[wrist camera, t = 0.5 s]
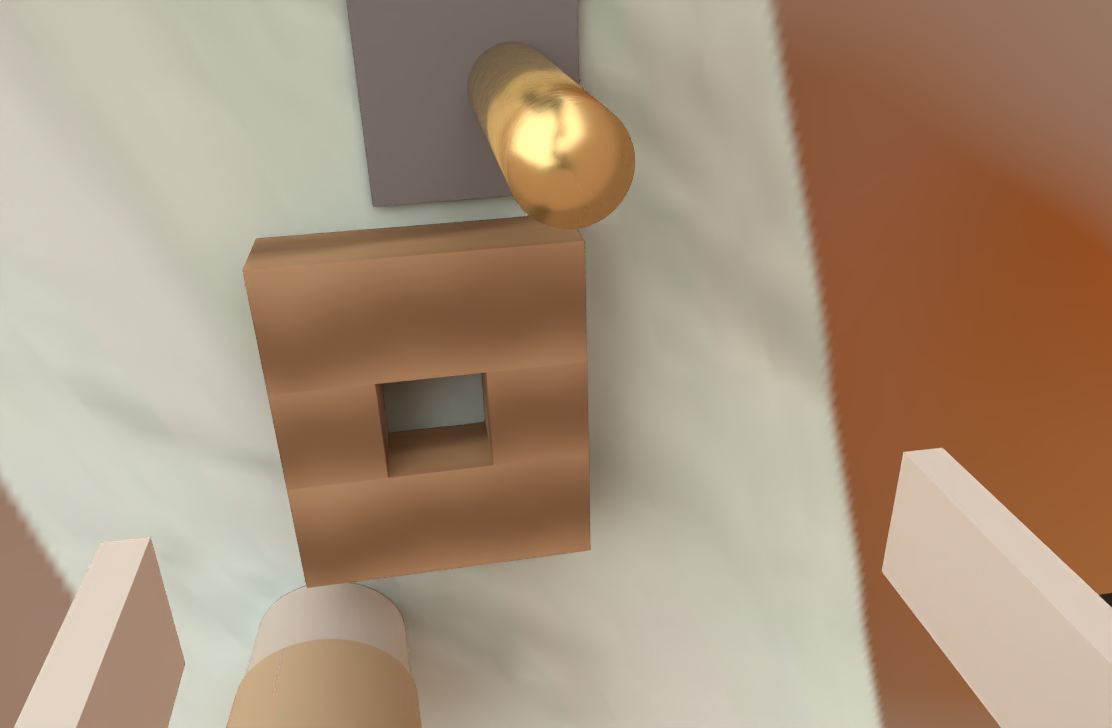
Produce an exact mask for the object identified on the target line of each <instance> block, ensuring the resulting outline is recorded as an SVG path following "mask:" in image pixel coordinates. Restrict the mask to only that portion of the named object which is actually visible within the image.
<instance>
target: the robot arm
mask: <svg viewBox="0 0 1112 728" xmlns="http://www.w3.org/2000/svg"><path fill="white" fill-rule="evenodd" d="M882 572H883V574H884V575H885V576H886V578H887V579H888V580H889V581H890V583H891V584H892V585H893V587H894V588H895V589H896V591H897V592H898V593H899V595H900V596H901V597H902V598H903V600H904V601H905V602H906V604H907V605H908V606H909V608H910V609H911V610H912V611H913V613H914V614H915V616H916V617H917V618H918V619H919V621H920V622H921V623H922V625H923V626H924V627H925V628H926V630H927V631H928V633H929V634H930V635H931V636H932V638H933V639H934V640H935V642H936V643H937V644H938V646H939V647H940V648H941V649H942V651H943V652H944V653H945V655H946V656H947V657H948V659H949V660H950V661H951V662H952V664H953V665H954V667H955V668H956V669H957V670H958V672H959V673H960V674H961V676H962V677H963V678H964V680H965V681H966V682H967V684H968V685H969V686H970V688H971V689H972V690H973V691H974V693H975V694H976V695H977V697H978V698H979V699H980V701H981V702H982V703H983V705H984V706H985V707H986V708H987V710H988V711H989V712H990V714H991V715H992V716H993V717H994V719H995V720H996V722H997V723H998V724H999V726H1000V727H1001V728H1112V593H1109V594H1102V595H1098V594H1097V593H1095V591H1093V590H1092V589H1091V588H1090V587H1089V586H1088V585H1087V584H1086V583H1085V582H1084V581H1083V580H1082V579H1081V578H1080V577H1079V576H1077V574H1076V573H1074V572H1073V571H1072V570H1071V569H1070V568H1069V567H1068V566H1067V565H1066V564H1065V563H1064V562H1063V561H1062V560H1060V558H1059V557H1057V556H1056V555H1055V554H1054V553H1053V552H1052V551H1051V550H1050V549H1049V548H1048V547H1047V546H1046V545H1045V544H1044V543H1043V542H1042V541H1041V540H1039V539H1038V538H1037V537H1036V536H1035V535H1034V534H1033V533H1032V532H1031V531H1030V530H1029V529H1028V528H1027V527H1026V526H1025V525H1024V524H1023V523H1021V522H1020V521H1019V520H1018V519H1017V518H1016V517H1015V516H1014V515H1013V514H1012V513H1011V512H1010V511H1009V510H1008V509H1007V508H1006V507H1004V506H1003V505H1002V504H1001V503H1000V502H999V501H998V500H997V499H996V498H995V497H994V496H993V495H992V494H991V493H990V492H989V491H988V490H986V489H985V488H984V487H983V486H982V485H981V484H980V483H979V482H978V481H977V480H976V479H975V478H974V477H973V476H972V475H971V474H969V473H968V472H967V471H966V470H965V469H964V468H963V467H962V466H961V465H960V464H959V463H958V462H957V461H956V460H955V459H954V458H952V457H951V456H950V455H949V454H948V453H947V452H946V451H945V450H944V449H943V448H937V449H927V450H919V451H909V452H904V453H903V458H902V463H901V469H900V474H899V480H898V485H897V491H896V497H895V502H894V508H893V513H892V518H891V524H890V529H889V534H888V540H887V546H886V551H885V556H884V562H883V567H882ZM184 666H185V661H184V657H183V653H182V650H181V646H180V642H179V639H178V635H177V632H176V628H175V624H174V621H173V617H172V613H171V610H170V606H169V602H168V599H167V595H166V591H165V588H164V584H163V581H162V577H161V573H160V570H159V566H158V562H157V559H156V555H155V551H154V548H153V544H152V540H151V537H144V538H135V539H126V540H117V541H108V542H100V545H99V547H98V549H97V551H96V553H95V555H94V557H93V560H92V562H91V564H90V566H89V568H88V570H87V572H86V575H85V577H84V579H83V581H82V583H81V585H80V587H79V590H78V592H77V594H76V596H75V598H74V600H73V602H72V605H71V607H70V609H69V611H68V613H67V615H66V617H65V620H64V622H63V624H62V626H61V628H60V630H59V632H58V635H57V637H56V639H55V641H54V643H53V645H52V647H51V650H50V652H49V654H48V656H47V658H46V660H45V662H44V665H43V667H42V669H41V671H40V673H39V675H38V677H37V680H36V682H35V684H34V686H33V688H32V690H31V692H30V695H29V697H28V699H27V701H26V703H25V705H24V707H23V710H22V712H21V714H20V716H19V718H18V720H17V722H16V725H15V727H14V728H168V724H169V721H170V717H171V713H172V710H173V706H174V702H175V699H176V695H177V691H178V688H179V684H180V681H181V677H182V673H183V670H184Z"/></svg>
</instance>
